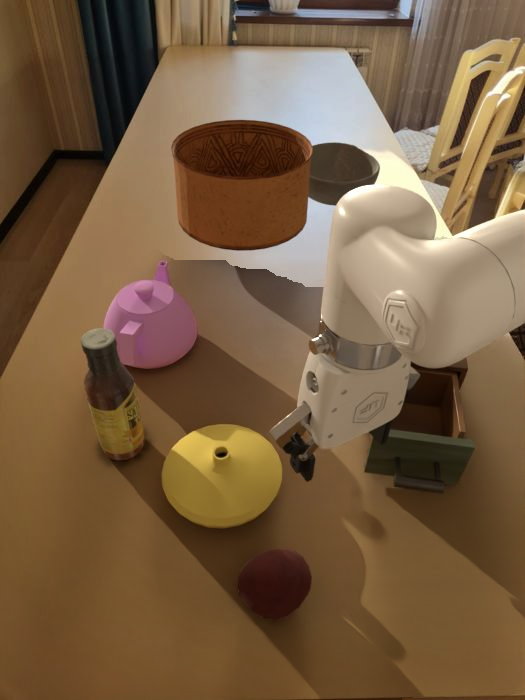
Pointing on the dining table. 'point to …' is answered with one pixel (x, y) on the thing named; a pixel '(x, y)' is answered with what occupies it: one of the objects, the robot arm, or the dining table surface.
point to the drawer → (425, 437)
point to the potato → (274, 583)
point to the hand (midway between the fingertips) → (339, 452)
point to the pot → (242, 183)
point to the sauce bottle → (112, 397)
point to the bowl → (339, 171)
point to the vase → (222, 475)
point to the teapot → (151, 322)
